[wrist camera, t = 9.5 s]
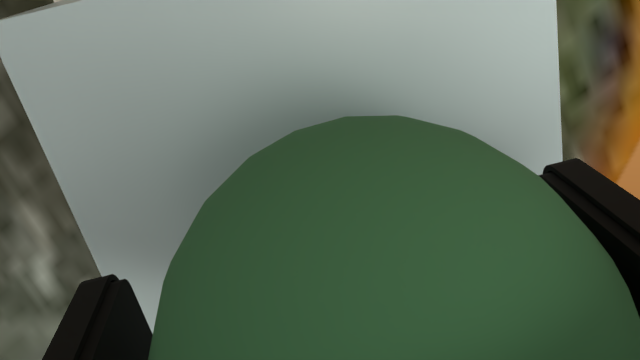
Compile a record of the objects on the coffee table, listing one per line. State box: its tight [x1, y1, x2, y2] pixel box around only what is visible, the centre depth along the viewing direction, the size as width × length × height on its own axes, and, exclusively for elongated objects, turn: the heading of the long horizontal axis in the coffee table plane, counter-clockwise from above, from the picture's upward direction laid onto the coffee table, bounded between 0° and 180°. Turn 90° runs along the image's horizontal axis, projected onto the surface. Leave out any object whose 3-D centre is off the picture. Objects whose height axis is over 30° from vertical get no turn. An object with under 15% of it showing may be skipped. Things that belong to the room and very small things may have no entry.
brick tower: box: [0, 0, 562, 334], centre depth 19 cm, size 16×16×11 cm
